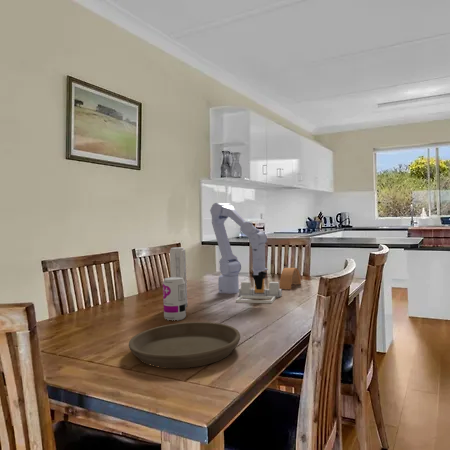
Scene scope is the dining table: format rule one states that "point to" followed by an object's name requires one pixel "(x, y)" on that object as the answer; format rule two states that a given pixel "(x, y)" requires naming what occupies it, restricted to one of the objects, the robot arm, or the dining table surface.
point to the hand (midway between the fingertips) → (259, 288)
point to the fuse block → (266, 293)
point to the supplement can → (174, 298)
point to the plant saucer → (185, 344)
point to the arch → (289, 278)
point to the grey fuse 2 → (273, 287)
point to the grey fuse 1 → (245, 287)
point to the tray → (256, 300)
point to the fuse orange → (260, 289)
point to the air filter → (178, 265)
